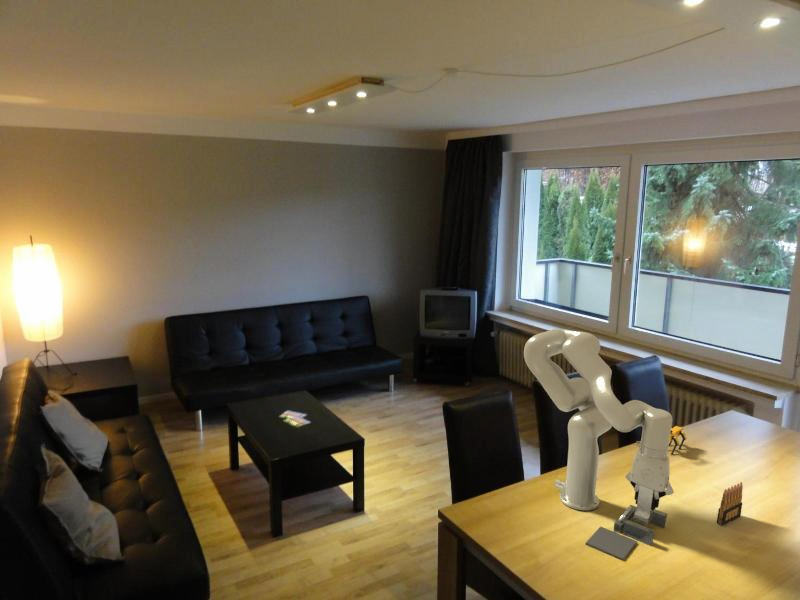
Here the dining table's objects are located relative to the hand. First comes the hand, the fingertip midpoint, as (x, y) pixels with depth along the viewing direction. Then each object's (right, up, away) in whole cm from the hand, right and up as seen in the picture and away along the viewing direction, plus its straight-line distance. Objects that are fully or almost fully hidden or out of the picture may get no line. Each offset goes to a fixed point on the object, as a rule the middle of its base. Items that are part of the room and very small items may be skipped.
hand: (645, 504), depth 175 cm
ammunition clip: (+29, -8, +8) cm, 31 cm away
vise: (-1, -8, +2) cm, 8 cm away
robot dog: (+33, +2, +54) cm, 63 cm away
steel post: (0, -4, +1) cm, 4 cm away
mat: (-13, -9, -6) cm, 17 cm away
